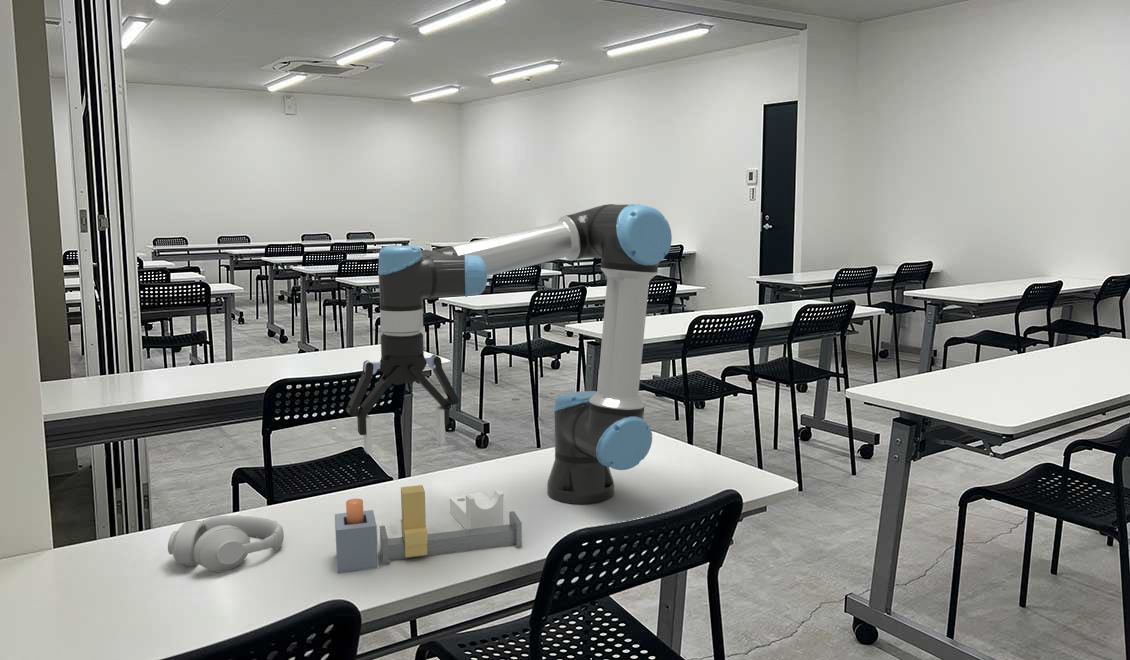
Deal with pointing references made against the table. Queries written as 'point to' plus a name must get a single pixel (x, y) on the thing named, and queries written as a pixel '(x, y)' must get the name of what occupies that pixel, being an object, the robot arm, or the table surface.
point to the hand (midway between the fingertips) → (405, 446)
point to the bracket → (478, 510)
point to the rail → (457, 540)
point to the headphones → (223, 541)
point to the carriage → (414, 520)
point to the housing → (356, 543)
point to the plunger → (354, 511)
